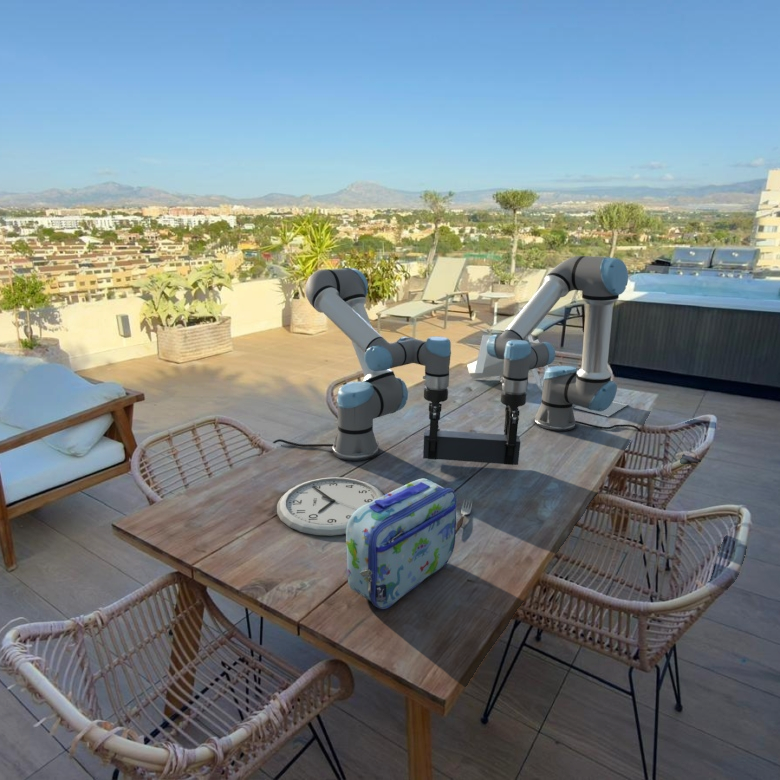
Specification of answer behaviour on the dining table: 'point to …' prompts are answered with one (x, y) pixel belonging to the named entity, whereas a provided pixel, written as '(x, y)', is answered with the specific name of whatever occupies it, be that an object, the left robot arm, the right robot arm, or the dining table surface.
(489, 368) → the white plastic object
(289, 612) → the dining table surface
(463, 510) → the fork
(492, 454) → the beam
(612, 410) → the invitation card
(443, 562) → the lunch box
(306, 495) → the wall clock
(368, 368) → the left robot arm
